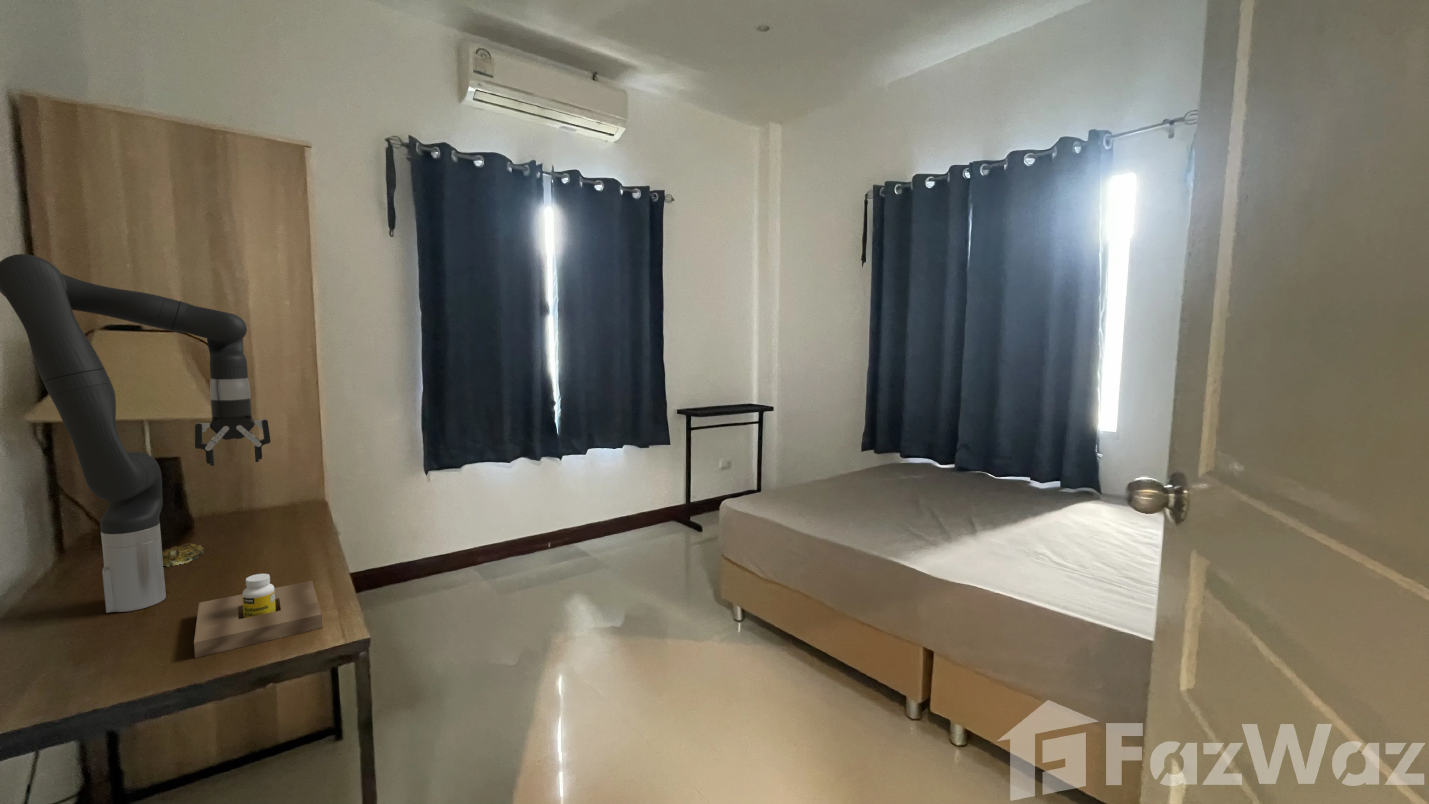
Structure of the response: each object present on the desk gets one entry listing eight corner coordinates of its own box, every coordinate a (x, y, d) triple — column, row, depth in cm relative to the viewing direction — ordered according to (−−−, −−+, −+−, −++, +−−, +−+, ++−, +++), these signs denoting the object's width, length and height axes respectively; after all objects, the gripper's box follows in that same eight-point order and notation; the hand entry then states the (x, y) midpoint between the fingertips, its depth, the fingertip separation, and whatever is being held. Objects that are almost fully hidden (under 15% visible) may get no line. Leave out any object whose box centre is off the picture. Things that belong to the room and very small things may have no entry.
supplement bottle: (239, 629, 124) (236, 583, 122) (250, 617, 129) (247, 573, 127) (270, 626, 125) (268, 581, 124) (280, 614, 130) (277, 570, 129)
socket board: (195, 658, 113) (193, 642, 113) (200, 616, 128) (198, 602, 128) (322, 627, 125) (321, 614, 125) (312, 593, 141) (312, 580, 140)
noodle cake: (164, 555, 164) (150, 574, 151) (160, 538, 163) (145, 556, 150) (208, 545, 168) (198, 563, 156) (205, 529, 167) (194, 546, 155)
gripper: (190, 400, 138) (195, 470, 140) (268, 397, 147) (272, 463, 149) (192, 396, 144) (197, 463, 146) (267, 394, 153) (271, 457, 155)
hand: (235, 463), depth 147 cm, fingers open, 8 cm apart
